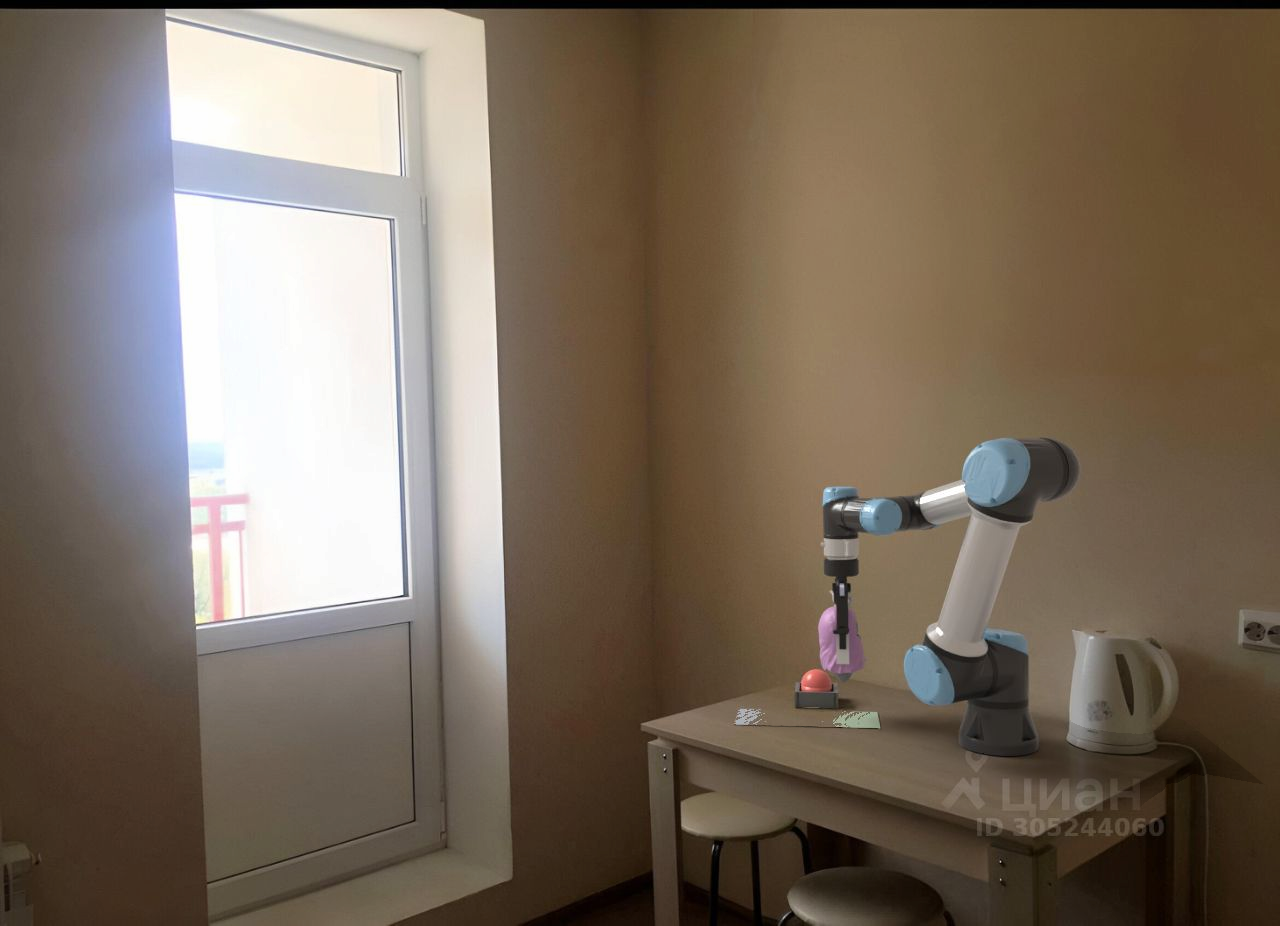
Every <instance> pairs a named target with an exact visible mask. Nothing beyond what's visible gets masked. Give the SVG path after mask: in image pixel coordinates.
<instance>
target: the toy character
mask: <svg viewBox="0 0 1280 926" xmlns="http://www.w3.org/2000/svg"><path fill="white" fill-rule="evenodd" d="M829 593H830V594H831V595H832V602H833V604H834V593H833V590H832V589H831V590H829ZM850 594H851V593H850V592H848V628H849V664H836V634H833V630H836V629H837V616H836V605H835V604H834V606H831V607H828V608H826V609H825V610H824V611H823V613H822V614H821V615H820V618H819V622H818V624H817V625H818V629H817V630H818V641H819V648H820V650H819V659H820V665H821V666H822V669H823V671H824V672H827V671H829V672H830V673H832V674H833V675H834V676H835V677H836V679H837V680H838V681H839V682H840V683H843V684H844V683H846V682H847V681H849V679H851V677H852V675H853V674H854V673H856V672H857V671H860V670H863V669H864V667H865V662H866V660H867V659H866V657H865V653H864V651H865V650H864V647H863V643H862V636H861V635H860V634H858V633H859V624H858V621H857V615H856V612H855V611H854V610H853V609H851V607H852V605H851V602H853V601H854V600H855V597H854V596H851V595H850ZM840 627H844V626H840Z"/></svg>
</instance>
